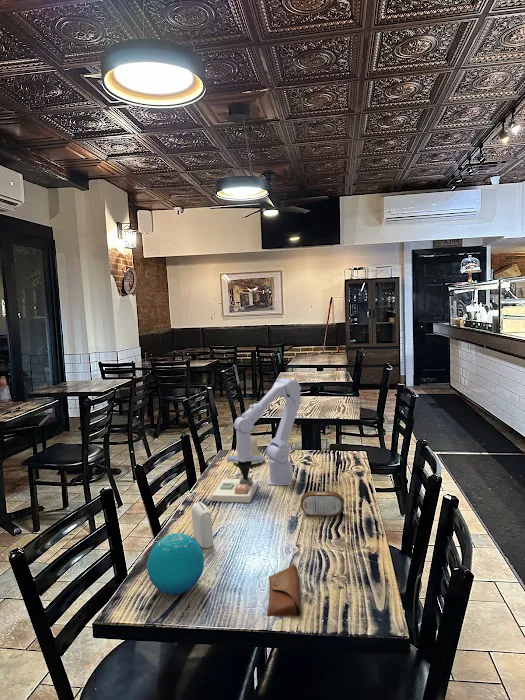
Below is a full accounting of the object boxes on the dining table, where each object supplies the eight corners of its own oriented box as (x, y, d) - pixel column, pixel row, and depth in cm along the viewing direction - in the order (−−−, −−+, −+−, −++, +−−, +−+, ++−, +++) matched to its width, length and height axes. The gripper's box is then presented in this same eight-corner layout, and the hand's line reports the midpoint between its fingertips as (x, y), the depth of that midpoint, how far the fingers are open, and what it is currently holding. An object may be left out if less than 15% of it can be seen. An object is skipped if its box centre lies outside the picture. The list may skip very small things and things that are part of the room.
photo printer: (191, 536, 157) (189, 500, 156) (204, 533, 159) (202, 497, 158) (202, 550, 148) (199, 512, 147) (215, 546, 150) (212, 508, 149)
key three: (233, 489, 194) (233, 482, 194) (231, 494, 190) (230, 486, 189) (223, 489, 195) (223, 482, 194) (220, 493, 190) (220, 486, 190)
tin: (343, 513, 169) (342, 490, 168) (344, 516, 166) (343, 493, 165) (301, 513, 171) (300, 490, 170) (300, 517, 168) (299, 494, 167)
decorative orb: (169, 570, 138) (166, 520, 136) (215, 579, 132) (212, 527, 131) (137, 600, 124) (133, 545, 123) (187, 612, 118) (183, 555, 117)
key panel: (258, 485, 199) (257, 479, 198) (249, 502, 182) (249, 496, 182) (223, 484, 201) (222, 479, 201) (211, 501, 185) (211, 495, 184)
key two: (248, 491, 189) (248, 483, 188) (246, 496, 184) (245, 488, 184) (237, 491, 189) (237, 483, 189) (235, 495, 185) (234, 488, 185)
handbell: (252, 469, 218) (249, 416, 215) (226, 465, 226) (223, 413, 224) (270, 459, 231) (268, 409, 228) (245, 455, 239) (242, 406, 236)
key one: (252, 484, 197) (252, 477, 196) (250, 488, 192) (250, 481, 192) (242, 484, 197) (241, 476, 197) (239, 488, 193) (239, 480, 193)
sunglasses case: (267, 574, 133) (278, 554, 132) (289, 586, 133) (300, 566, 132) (266, 617, 115) (279, 594, 114) (291, 630, 115) (305, 607, 114)
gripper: (224, 449, 191) (226, 482, 192) (259, 449, 188) (261, 483, 189) (228, 444, 197) (230, 475, 199) (263, 444, 195) (264, 476, 196)
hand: (245, 479), depth 194 cm, fingers closed, pressing on key one
